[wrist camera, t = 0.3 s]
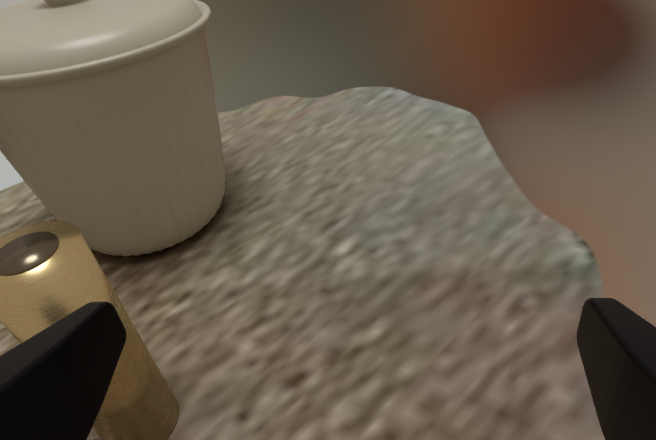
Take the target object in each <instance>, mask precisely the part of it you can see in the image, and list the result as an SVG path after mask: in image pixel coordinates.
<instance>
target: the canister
mask: <svg viewBox="0 0 656 440" xmlns="http://www.w3.org/2000/svg"><path fill="white" fill-rule="evenodd" d="M210 18H211V11H210V9H209V7H208V6H207V5H206V4H205V3H203V2H200V1H197V0H31V1H27V2H23V3H19V4H16V5H12V6H9V7H6V8H2V9H0V151H1V152H2V153H3V154H4V156H5V157H6V158H7V160H8V161H9V162H10V163H11V165H12V166H13V167H14V168H15V170H16V171H17V172H18V173H19V174H20V176H21V177H22V178H23V180H24V181H25V182H26V183H27V185H28V186H29V187H30V188H31V189H32V191H33V192H34V193H35V194H36V195H37V197H38V198H39V199H40V200H41V201H42V203H43V204H44V205H45V206H46V207H47V209H48V210H49V211H50V212H51V213H52V214H53V216H54V217H55V218H56V219H57V220H58V221H64V222H69V223H71V224H74V225H75V226H76V227H77V228H78V229H79V230H80V232H81V234H82V236H83V237H84V239H85V241H86V243H87V244H88V246H89V248H90V249H92V250H95V251H97V252H100V253H102V254H109V255H112V256H119V255H121V256H125V257H126V256H130V255H135V256H139V255H141V254H150V253H152V252H155V251H162V250H163V249H165V248H168V247H173V246H174V245H175V244H177V243H180V242H183V241H184V240H185V239H187V238H189V237H192V236H193V235H194V234H195V233H196V232H198V231H200V230H201V229H202V228H203V227H204V226H205V225H207V224H208V223H209V222H210V220H211V219H212V218H213V217H214V216H215V214H216V212H217V210H218V209H219V207H220V205H221V202H222V199H223V196H224V191H225V168H224V159H223V150H222V142H221V134H220V126H219V119H218V112H217V105H216V99H215V92H214V85H213V78H212V70H211V63H210V57H209V51H208V45H207V39H206V32H205V27H206V26H207V25H208V23H209V21H210Z"/></svg>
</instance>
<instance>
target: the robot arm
mask: <svg viewBox="0 0 656 440" xmlns="http://www.w3.org/2000/svg"><path fill="white" fill-rule="evenodd" d="M125 342H126V329H125V327H124V325H123V323H122V321H121V319H120V317H119V315H118V313H117V311H116V309H115V307H114V306H113V304H111V303H110V302H90V303H87V304H85V305H84V306H82V307H80V308H79V309H77V310H75V311H74V312H72V313H71V314H69V315H67V316H66V317H64V318H62V319H61V320H59V321H57V322H56V323H54V324H52V325H51V326H49V327H47V328H46V329H44V330H42V331H41V332H39V333H37V334H36V335H34V336H33V337H31V338H29V339H28V340H26V341H24V342H23V343H21V344H19V345H18V346H16V347H14V348H13V349H11V350H9V351H8V352H6V353H4V354H3V355H1V356H0V440H86V439H87V437H88V435H89V433H90V431H91V429H92V427H93V425H94V423H95V420H96V418H97V416H98V414H99V412H100V409H101V407H102V404H103V402H104V399H105V396H106V394H107V391H108V388H109V386H110V383H111V380H112V377H113V375H114V372H115V369H116V367H117V364H118V361H119V358H120V356H121V353H122V350H123V348H124V345H125ZM577 344H578V348H579V352H580V355H581V359H582V363H583V366H584V370H585V373H586V377H587V380H588V384H589V388H590V391H591V395H592V398H593V402H594V405H595V409H596V413H597V416H598V419H599V423H600V426H601V429H602V432H603V435H604V437H605V440H656V327H655V326H653V325H652V324H650V323H649V322H647V321H646V320H645V319H643V318H642V317H640V316H639V315H637V314H636V313H634V312H633V311H632V310H630V309H629V308H627V307H625V306H624V305H623V304H622V303H620V302H619V301H617V300H615V299H613V298H589V299H587V300H586V301H585V303H584V305H583V309H582V313H581V317H580V321H579V326H578V330H577Z"/></svg>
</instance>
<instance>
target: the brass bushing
mask: <svg viewBox="0 0 656 440" xmlns="http://www.w3.org/2000/svg"><path fill="white" fill-rule="evenodd" d="M90 302H110V303H111V304H113V306H114V307H115V309H116V311H117V313H118V315H119V317H120V319H121V321H122V323H123V325H124V327H125V329H126V342H125V345H124V348H123V350H122V353H121V356H120V358H119V361H118V364H117V367H116V369H115V372H114V375H113V377H112V380H111V383H110V386H109V388H108V391H107V394H106V396H105V399H104V402H103V404H102V407H101V409H100V412H99V414H98V416H97V418H96V420H95V423H94V425H93V427H92V428H93V429H94V430H95V432H96V433H97V434H98V435H99V436H100V437H101V439H102V440H166V439H167V438H168V437H169V436H170V434H171V433H172V431H173V430H174V428H175V426H176V423H177V420H178V416H179V406H178V402H177V400H176V398H175V396H174V394H173V393H172V391H171V389H170V388H169V386H168V384H167V382H166V381H165V379H164V377H163V375H162V374H161V372H160V370H159V368H158V367H157V365H156V363H155V361H154V360H153V358H152V356H151V354H150V353H149V351H148V349H147V347H146V346H145V344H144V342H143V340H142V339H141V337H140V335H139V333H138V332H137V330H136V328H135V326H134V325H133V323H132V321H131V319H130V318H129V316H128V314H127V312H126V311H125V309H124V307H123V305H122V304H121V302H120V300H119V298H118V297H117V295H116V293H115V291H114V290H113V288H112V286H111V284H110V283H109V281H108V279H107V277H106V276H105V274H104V272H103V270H102V269H101V267H100V265H99V263H98V262H97V260H96V258H95V256H94V255H93V253H92V251H91V249H90V248H89V246H88V244H87V243H86V241H85V239H84V237H83V236H82V234H81V232H80V230H79V229H78V228H77V227H76V226H75V225H74V224H71V223H69V222H64V221H47V222H41V223H36V224H33V225H29V226H26V227H23V228H21V229H18V230H16V231H13V232H11V233H9V234H7V235H5V236H3V237H2V238H0V321H1V322H2V324H3V325H4V326H5V327H6V328H7V329H8V331H9V332H10V333H11V334H12V335H13V336H14V338H15V339H16V340H17V341H18V342H19V343H20V344H21V343H23V342H24V341H26V340H28V339H29V338H31V337H33V336H34V335H36V334H37V333H39V332H41V331H42V330H44V329H46V328H47V327H49V326H51V325H52V324H54V323H56V322H57V321H59V320H61V319H62V318H64V317H66V316H67V315H69V314H71V313H72V312H74V311H75V310H77V309H79V308H80V307H82V306H84V305H85V304H87V303H90Z"/></svg>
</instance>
